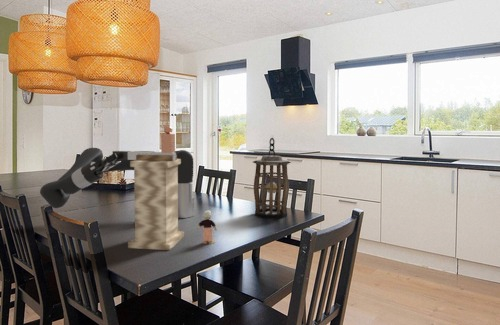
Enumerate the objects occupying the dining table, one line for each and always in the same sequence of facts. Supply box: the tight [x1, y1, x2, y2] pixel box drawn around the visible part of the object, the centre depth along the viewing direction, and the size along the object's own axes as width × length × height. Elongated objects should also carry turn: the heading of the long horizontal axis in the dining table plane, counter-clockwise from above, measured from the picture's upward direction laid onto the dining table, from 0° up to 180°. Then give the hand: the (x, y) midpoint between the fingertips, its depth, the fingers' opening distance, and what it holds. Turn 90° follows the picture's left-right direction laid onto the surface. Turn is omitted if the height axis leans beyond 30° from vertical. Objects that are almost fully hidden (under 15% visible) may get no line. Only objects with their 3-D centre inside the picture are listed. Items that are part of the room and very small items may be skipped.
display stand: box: [127, 155, 185, 251], centre depth 145 cm, size 16×18×34 cm
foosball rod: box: [112, 125, 176, 161], centre depth 144 cm, size 24×4×13 cm, turn 83°
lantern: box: [252, 137, 292, 220], centre depth 194 cm, size 19×19×40 cm
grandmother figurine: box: [197, 210, 218, 245], centre depth 146 cm, size 8×4×13 cm, turn 92°
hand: (121, 154), depth 145 cm, fingers open, 8 cm apart
